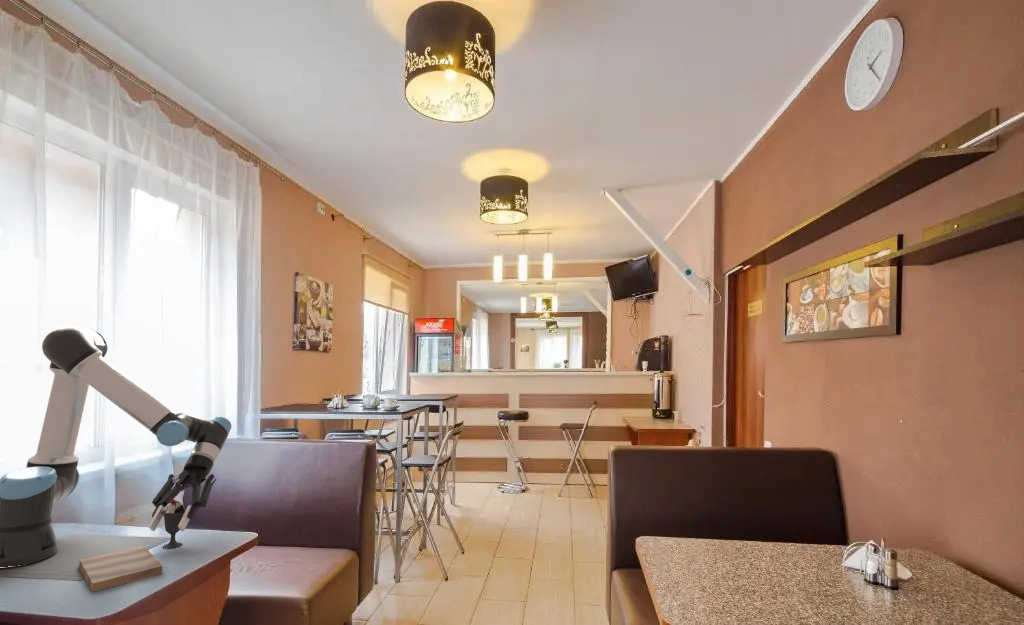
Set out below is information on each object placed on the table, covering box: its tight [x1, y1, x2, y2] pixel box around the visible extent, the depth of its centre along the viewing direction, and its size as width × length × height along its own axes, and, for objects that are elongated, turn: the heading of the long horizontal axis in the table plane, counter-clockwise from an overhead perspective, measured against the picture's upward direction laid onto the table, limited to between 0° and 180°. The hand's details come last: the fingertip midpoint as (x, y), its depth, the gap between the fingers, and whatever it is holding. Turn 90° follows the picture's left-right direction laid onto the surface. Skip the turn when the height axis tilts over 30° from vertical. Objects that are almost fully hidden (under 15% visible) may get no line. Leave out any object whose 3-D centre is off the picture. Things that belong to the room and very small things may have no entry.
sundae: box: [161, 494, 187, 550], centre depth 148 cm, size 7×7×15 cm
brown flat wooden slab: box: [78, 545, 164, 593], centre depth 130 cm, size 20×14×2 cm
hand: (166, 528), depth 144 cm, fingers open, 8 cm apart
